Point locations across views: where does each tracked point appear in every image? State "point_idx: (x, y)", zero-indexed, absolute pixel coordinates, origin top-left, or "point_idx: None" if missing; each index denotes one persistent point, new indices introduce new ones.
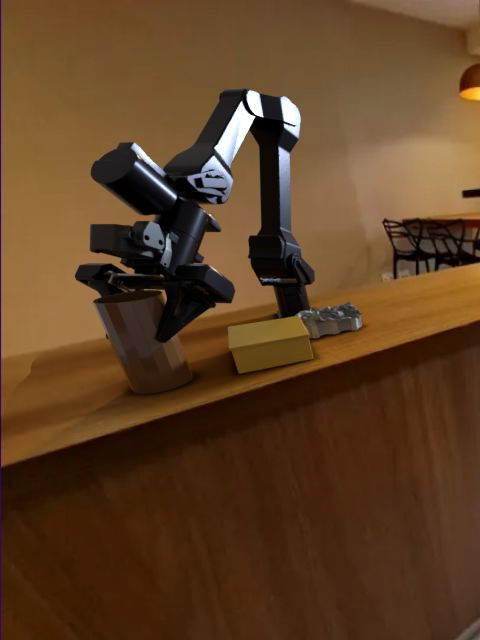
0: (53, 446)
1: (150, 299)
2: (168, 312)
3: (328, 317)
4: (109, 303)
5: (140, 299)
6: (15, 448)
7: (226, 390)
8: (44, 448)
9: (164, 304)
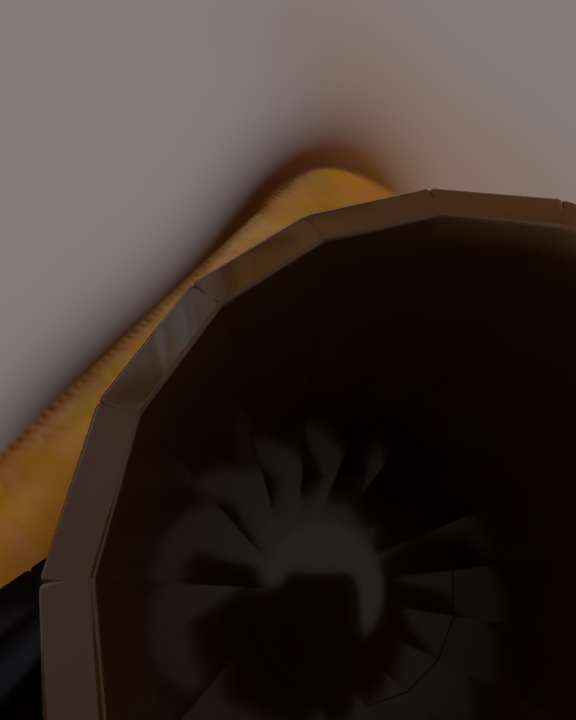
0: (299, 202)
1: (77, 486)
2: (33, 586)
3: None
4: (393, 208)
5: (141, 377)
6: (380, 190)
7: (14, 531)
8: (312, 195)
9: None
